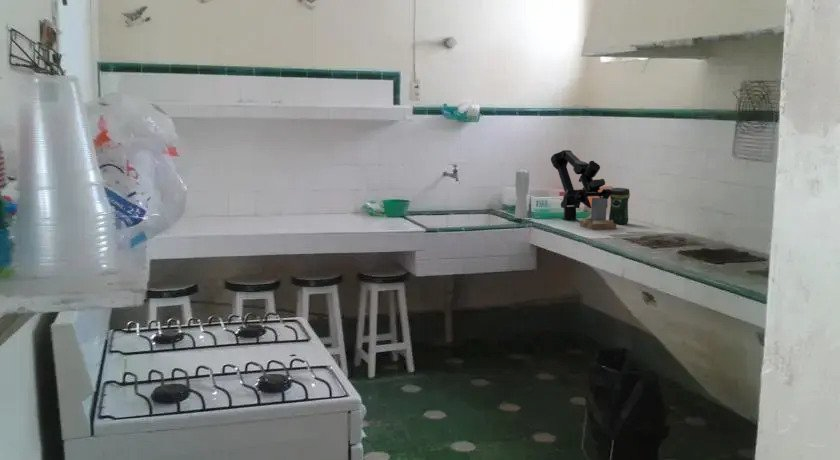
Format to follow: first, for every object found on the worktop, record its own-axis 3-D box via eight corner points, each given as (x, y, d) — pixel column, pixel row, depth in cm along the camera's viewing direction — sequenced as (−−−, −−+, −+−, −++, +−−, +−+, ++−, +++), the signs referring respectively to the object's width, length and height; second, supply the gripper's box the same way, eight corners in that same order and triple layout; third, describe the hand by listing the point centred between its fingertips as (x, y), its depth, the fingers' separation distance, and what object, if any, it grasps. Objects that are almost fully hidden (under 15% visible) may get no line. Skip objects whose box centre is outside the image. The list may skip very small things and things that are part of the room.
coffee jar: (630, 223, 397) (632, 188, 394) (623, 225, 391) (625, 189, 388) (613, 221, 403) (615, 186, 400) (606, 223, 397) (608, 187, 394)
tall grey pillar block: (590, 221, 383) (592, 197, 381) (600, 221, 384) (601, 197, 383) (596, 223, 378) (597, 199, 376) (605, 222, 380) (607, 198, 378)
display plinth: (580, 225, 386) (580, 217, 386) (600, 224, 390) (601, 217, 389) (594, 229, 373) (595, 221, 372) (616, 229, 377) (616, 221, 376)
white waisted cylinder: (525, 221, 400) (527, 167, 396) (511, 219, 404) (513, 167, 400) (531, 219, 407) (533, 167, 403) (517, 218, 411) (519, 166, 407)
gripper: (578, 173, 380) (588, 198, 371) (611, 173, 386) (622, 197, 377) (569, 187, 388) (579, 211, 380) (601, 187, 394) (612, 211, 386)
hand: (598, 207), depth 380 cm, fingers open, 9 cm apart
